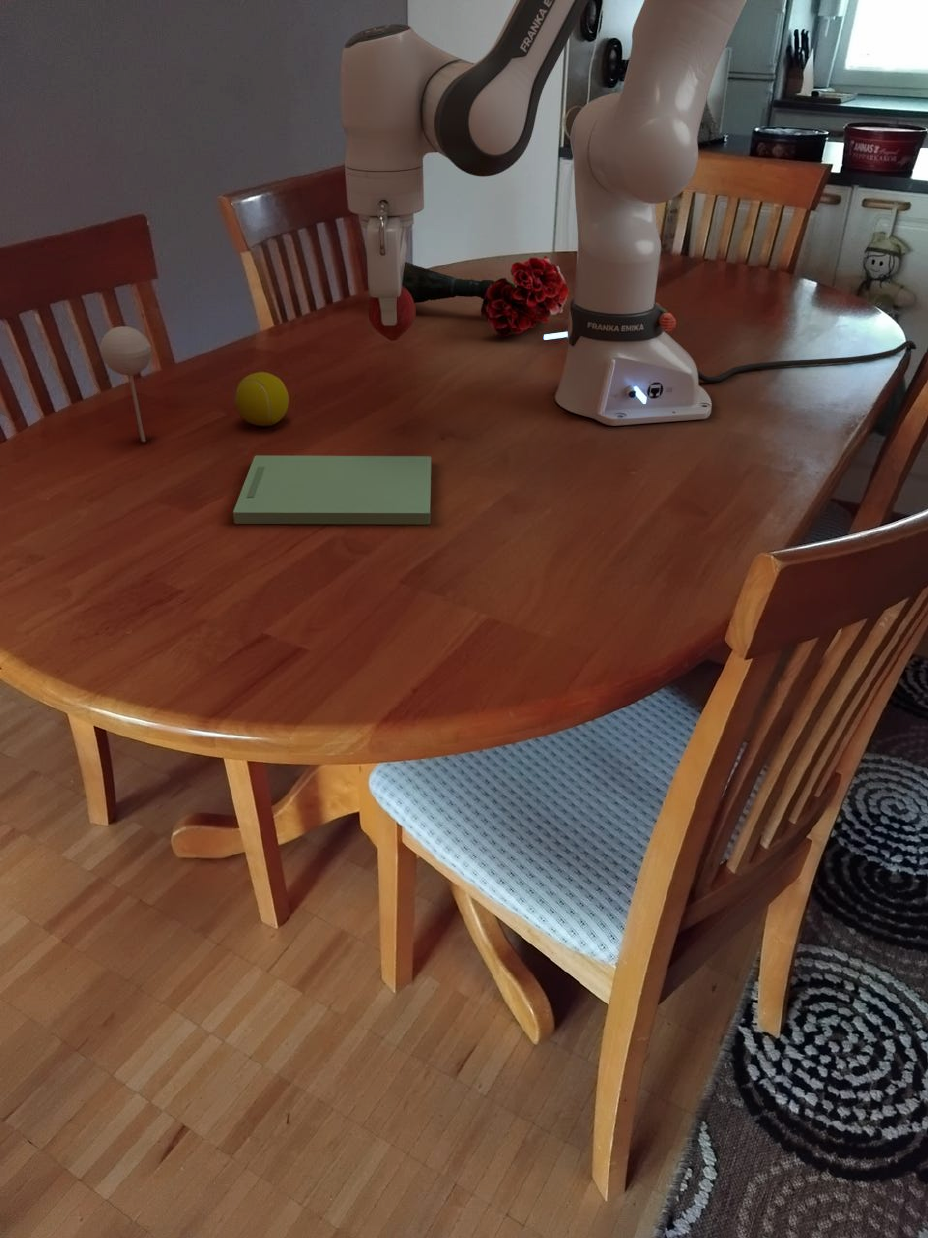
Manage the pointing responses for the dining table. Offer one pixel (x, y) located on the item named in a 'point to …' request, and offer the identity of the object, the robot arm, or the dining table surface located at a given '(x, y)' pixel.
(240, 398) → the tennis ball
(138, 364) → the lollipop
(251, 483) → the cutting board
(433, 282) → the carnation
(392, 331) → the onion
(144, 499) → the dining table surface
